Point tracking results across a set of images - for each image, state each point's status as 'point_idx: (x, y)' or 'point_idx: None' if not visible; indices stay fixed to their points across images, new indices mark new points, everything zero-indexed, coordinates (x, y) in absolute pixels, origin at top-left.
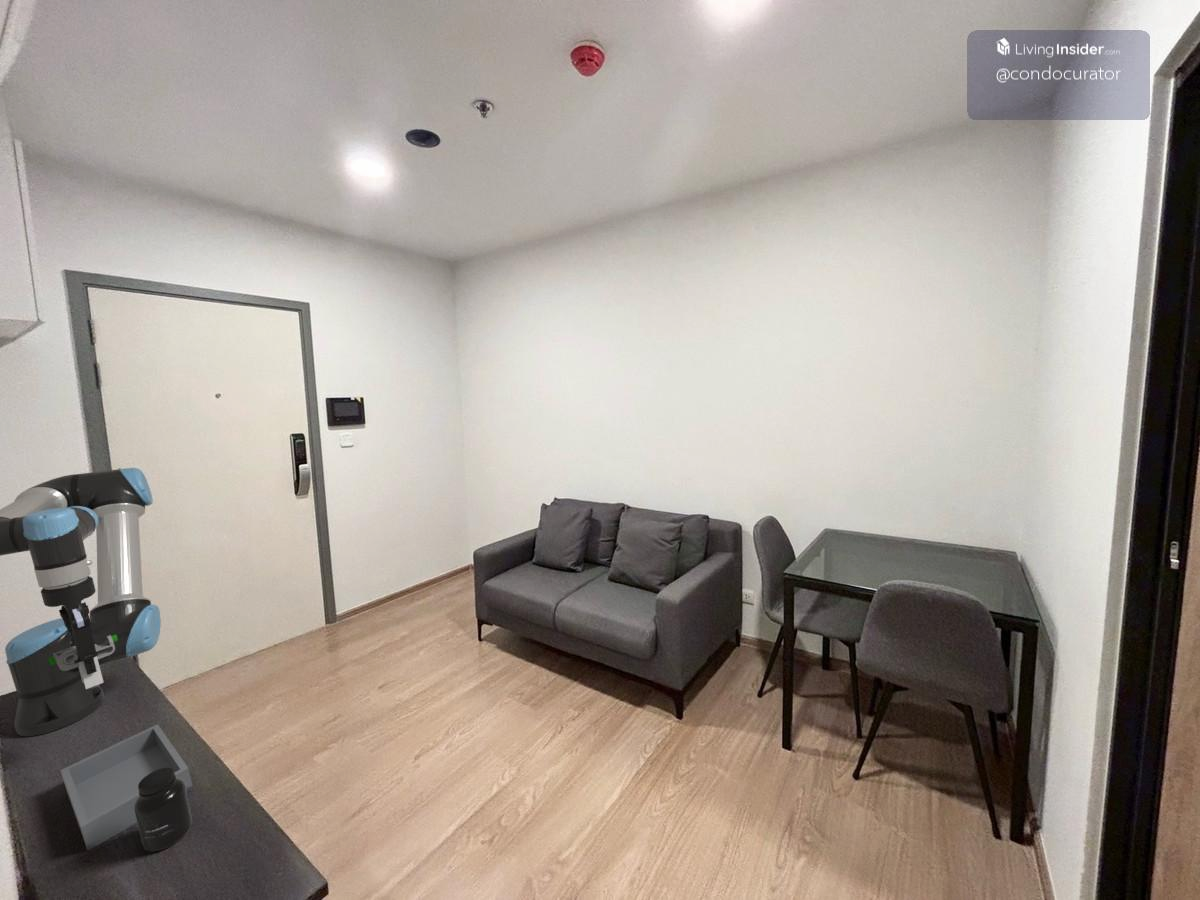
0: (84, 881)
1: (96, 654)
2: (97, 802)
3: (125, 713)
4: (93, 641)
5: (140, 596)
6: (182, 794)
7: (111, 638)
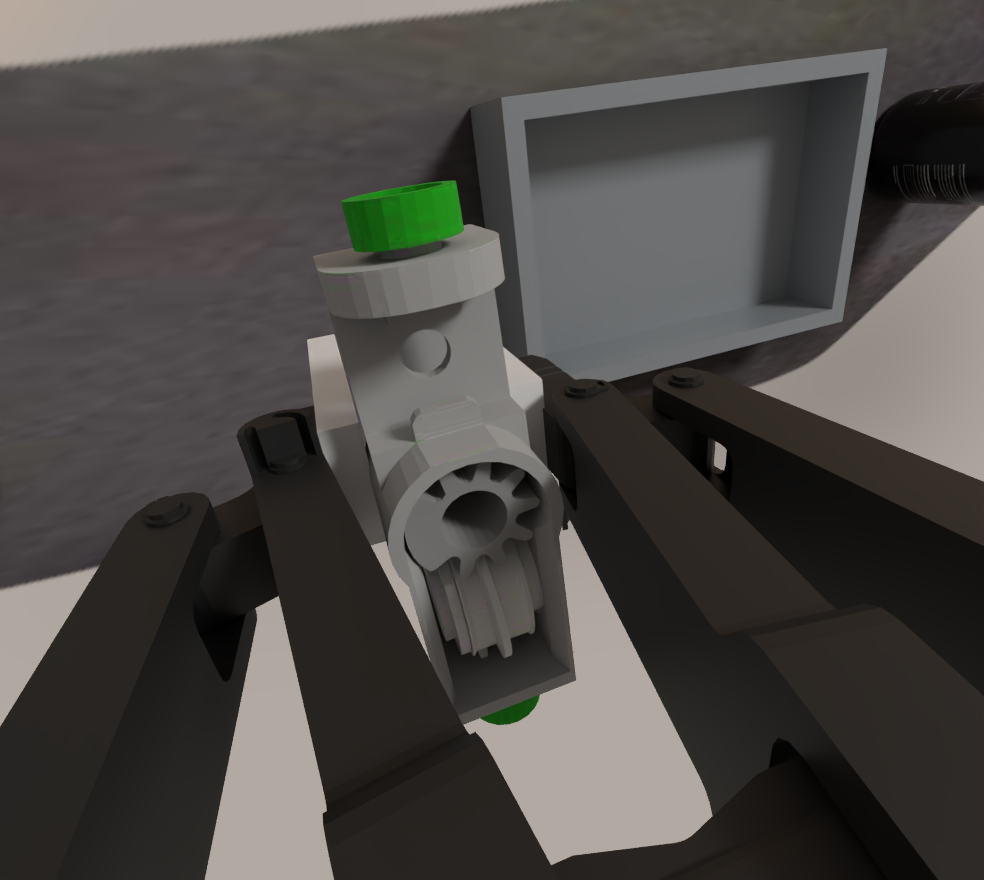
0: (858, 304)
1: (713, 376)
2: (660, 297)
3: (31, 226)
4: (868, 436)
5: None
6: None
7: (497, 252)
